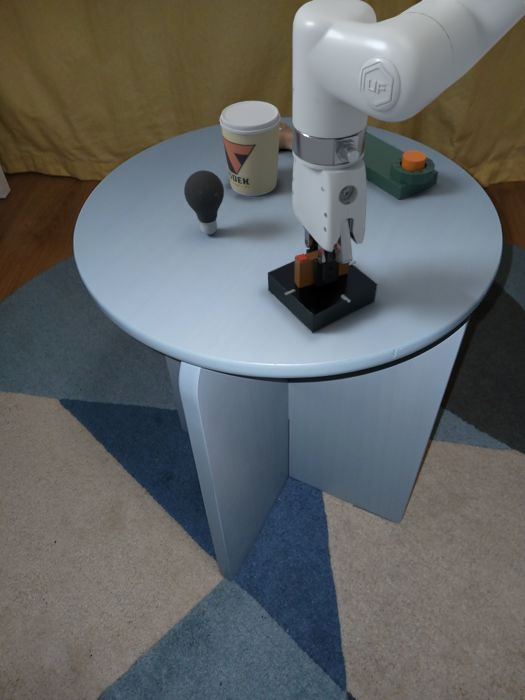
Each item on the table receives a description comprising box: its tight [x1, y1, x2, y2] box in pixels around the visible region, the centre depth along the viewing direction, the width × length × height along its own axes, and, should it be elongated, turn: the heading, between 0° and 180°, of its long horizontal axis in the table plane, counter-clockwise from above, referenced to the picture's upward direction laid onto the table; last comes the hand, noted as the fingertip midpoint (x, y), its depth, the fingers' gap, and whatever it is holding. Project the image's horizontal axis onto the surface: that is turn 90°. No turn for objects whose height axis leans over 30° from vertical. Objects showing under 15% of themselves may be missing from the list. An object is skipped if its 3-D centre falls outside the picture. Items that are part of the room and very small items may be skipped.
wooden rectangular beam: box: [294, 245, 349, 288], centre depth 69 cm, size 7×1×4 cm, turn 113°
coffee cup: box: [219, 100, 282, 197], centre depth 88 cm, size 9×9×12 cm
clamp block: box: [267, 254, 378, 334], centre depth 72 cm, size 11×11×3 cm
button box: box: [362, 131, 439, 200], centre depth 93 cm, size 19×8×4 cm, turn 33°
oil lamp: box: [279, 121, 293, 151], centre depth 100 cm, size 9×4×8 cm
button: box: [401, 149, 427, 171], centre depth 87 cm, size 4×4×2 cm
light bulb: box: [183, 169, 225, 236], centre depth 80 cm, size 6×6×10 cm
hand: (321, 276), depth 71 cm, fingers closed
